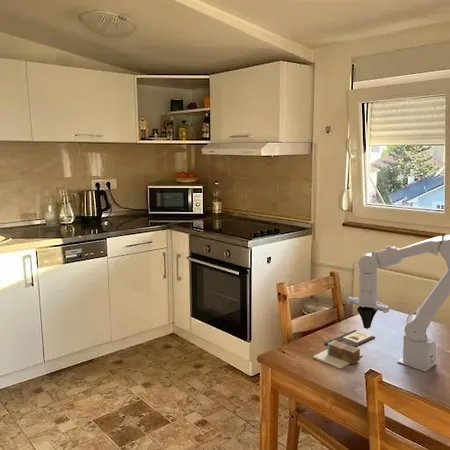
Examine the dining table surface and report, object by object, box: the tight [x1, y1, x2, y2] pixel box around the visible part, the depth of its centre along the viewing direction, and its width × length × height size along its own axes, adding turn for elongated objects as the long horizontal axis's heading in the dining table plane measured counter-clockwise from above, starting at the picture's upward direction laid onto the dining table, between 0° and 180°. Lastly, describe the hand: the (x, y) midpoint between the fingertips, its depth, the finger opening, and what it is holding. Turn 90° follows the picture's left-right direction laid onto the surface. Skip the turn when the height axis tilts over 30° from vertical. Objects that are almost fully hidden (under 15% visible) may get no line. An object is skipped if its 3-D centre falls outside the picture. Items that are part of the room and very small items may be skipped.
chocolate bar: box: [323, 329, 376, 348], centre depth 168 cm, size 9×1×18 cm
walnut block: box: [326, 340, 361, 365], centre depth 153 cm, size 4×4×10 cm
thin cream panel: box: [312, 348, 364, 370], centre depth 155 cm, size 11×13×1 cm
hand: (367, 327), depth 154 cm, fingers closed
